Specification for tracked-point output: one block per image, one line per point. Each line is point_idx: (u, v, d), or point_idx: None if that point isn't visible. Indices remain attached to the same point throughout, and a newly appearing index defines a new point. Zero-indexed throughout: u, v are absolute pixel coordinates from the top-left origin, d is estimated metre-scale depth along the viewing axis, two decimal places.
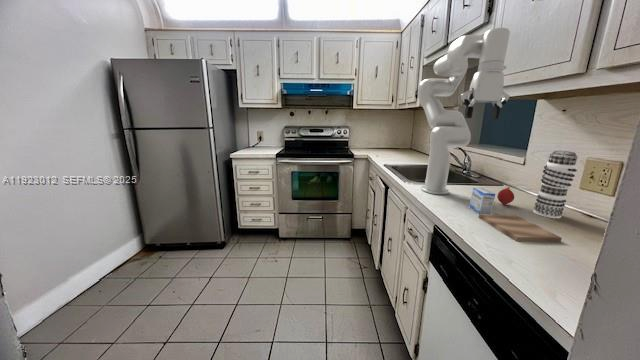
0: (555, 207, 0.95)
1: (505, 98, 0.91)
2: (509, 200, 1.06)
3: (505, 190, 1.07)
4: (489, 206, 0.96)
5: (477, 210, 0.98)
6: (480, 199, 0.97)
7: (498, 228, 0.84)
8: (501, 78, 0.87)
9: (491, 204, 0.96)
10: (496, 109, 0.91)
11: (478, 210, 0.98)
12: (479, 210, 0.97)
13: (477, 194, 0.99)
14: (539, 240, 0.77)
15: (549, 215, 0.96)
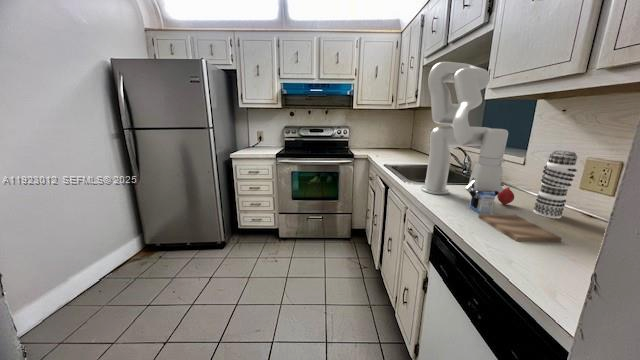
0: (555, 207, 0.95)
1: (498, 190, 0.98)
2: (509, 200, 1.06)
3: (505, 190, 1.07)
4: (489, 206, 0.96)
5: (477, 210, 0.98)
6: (480, 199, 0.97)
7: (498, 228, 0.84)
8: (500, 172, 0.94)
9: (491, 204, 0.96)
10: None
11: (478, 210, 0.97)
12: (479, 210, 0.97)
13: None
14: (539, 240, 0.77)
15: (549, 215, 0.96)
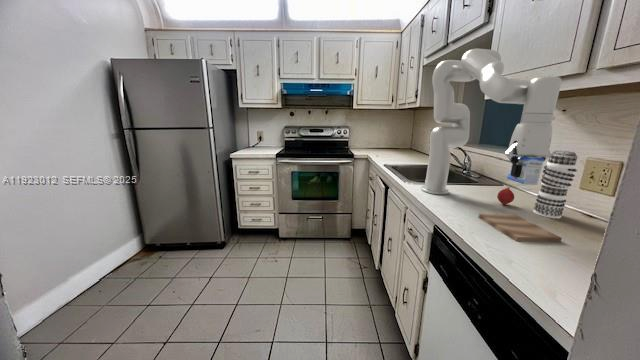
0: (555, 207, 0.95)
1: (546, 155, 0.81)
2: (509, 200, 1.06)
3: (505, 190, 1.07)
4: (536, 174, 0.78)
5: (520, 180, 0.81)
6: (524, 166, 0.79)
7: (498, 228, 0.84)
8: (549, 131, 0.77)
9: (538, 171, 0.78)
10: None
11: (522, 180, 0.80)
12: (523, 179, 0.80)
13: None
14: (539, 240, 0.77)
15: (549, 215, 0.96)
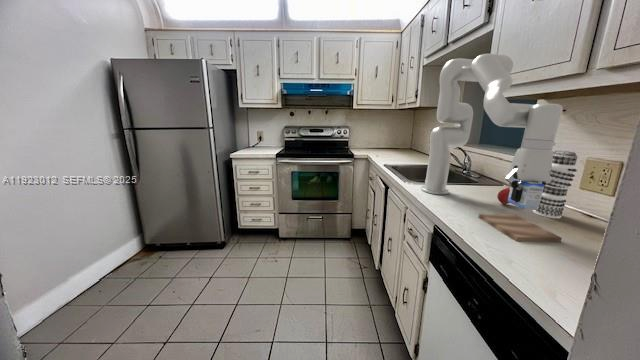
0: (555, 207, 0.95)
1: (546, 180, 0.81)
2: None
3: (505, 190, 1.07)
4: (536, 199, 0.78)
5: (520, 204, 0.81)
6: (525, 191, 0.79)
7: (498, 228, 0.84)
8: (550, 157, 0.77)
9: (539, 197, 0.78)
10: None
11: (522, 205, 0.80)
12: (523, 204, 0.79)
13: None
14: (539, 240, 0.77)
15: (549, 215, 0.96)
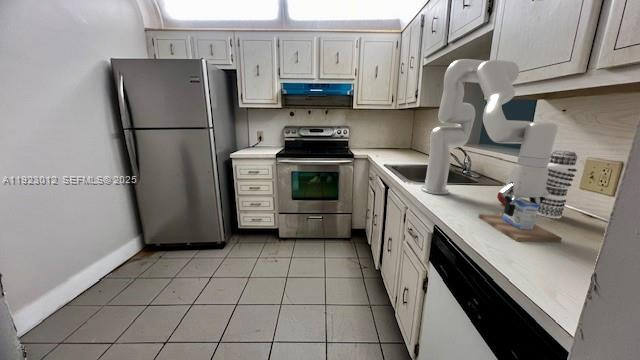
0: (555, 207, 0.95)
1: (544, 195, 0.82)
2: None
3: None
4: (531, 219, 0.80)
5: (516, 224, 0.83)
6: (521, 211, 0.81)
7: (498, 228, 0.84)
8: (545, 174, 0.78)
9: (534, 217, 0.80)
10: None
11: (518, 225, 0.82)
12: (519, 224, 0.81)
13: (515, 205, 0.83)
14: (539, 240, 0.77)
15: (549, 215, 0.96)
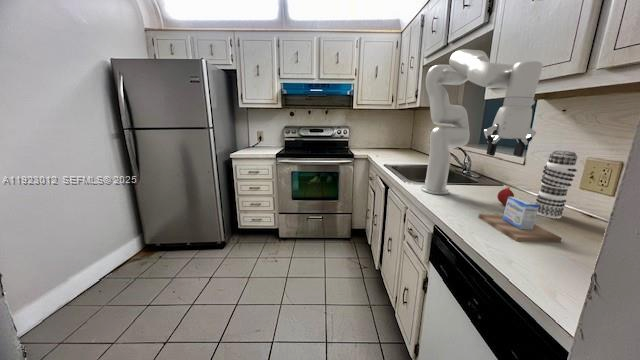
0: (555, 207, 0.95)
1: (531, 135, 0.84)
2: None
3: (505, 190, 1.07)
4: (531, 219, 0.80)
5: (516, 224, 0.83)
6: (521, 211, 0.81)
7: (498, 228, 0.84)
8: (529, 115, 0.81)
9: (534, 217, 0.80)
10: (521, 146, 0.85)
11: (518, 225, 0.82)
12: (519, 224, 0.81)
13: (515, 205, 0.83)
14: (539, 240, 0.77)
15: (549, 215, 0.96)
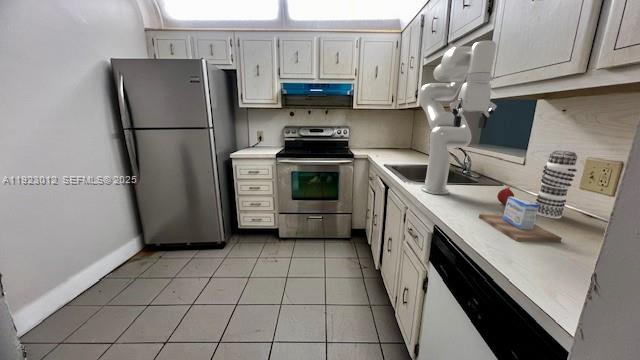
0: (555, 207, 0.95)
1: (492, 108, 0.94)
2: None
3: (505, 190, 1.07)
4: (531, 219, 0.80)
5: (516, 224, 0.83)
6: (521, 211, 0.81)
7: (498, 228, 0.84)
8: (488, 89, 0.90)
9: (534, 217, 0.80)
10: (483, 118, 0.94)
11: (518, 225, 0.82)
12: (519, 224, 0.81)
13: (515, 205, 0.83)
14: (539, 240, 0.77)
15: (549, 215, 0.96)
